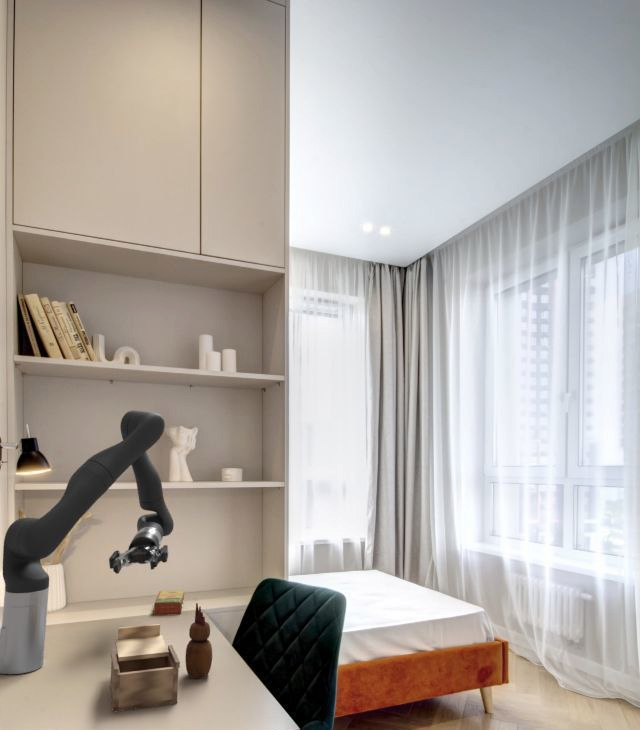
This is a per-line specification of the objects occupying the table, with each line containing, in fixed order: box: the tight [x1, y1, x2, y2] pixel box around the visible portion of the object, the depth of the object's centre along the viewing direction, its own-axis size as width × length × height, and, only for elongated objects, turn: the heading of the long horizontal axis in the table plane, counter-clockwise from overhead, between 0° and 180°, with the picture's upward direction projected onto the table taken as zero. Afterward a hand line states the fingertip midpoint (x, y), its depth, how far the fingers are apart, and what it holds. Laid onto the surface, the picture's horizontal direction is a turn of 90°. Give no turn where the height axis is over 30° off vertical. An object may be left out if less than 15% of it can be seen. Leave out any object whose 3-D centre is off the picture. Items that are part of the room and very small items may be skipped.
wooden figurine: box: [185, 602, 213, 679], centre depth 132 cm, size 7×6×15 cm
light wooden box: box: [109, 644, 181, 713], centre depth 121 cm, size 12×13×8 cm
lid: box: [114, 623, 169, 662], centre depth 128 cm, size 10×13×3 cm
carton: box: [153, 590, 185, 616], centre depth 190 cm, size 8×16×4 cm, turn 9°
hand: (134, 567), depth 146 cm, fingers open, 8 cm apart
